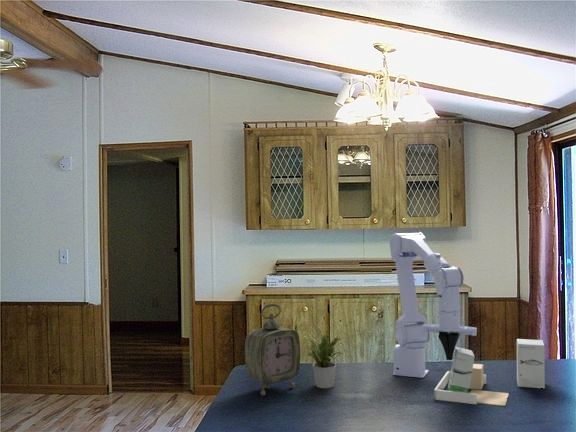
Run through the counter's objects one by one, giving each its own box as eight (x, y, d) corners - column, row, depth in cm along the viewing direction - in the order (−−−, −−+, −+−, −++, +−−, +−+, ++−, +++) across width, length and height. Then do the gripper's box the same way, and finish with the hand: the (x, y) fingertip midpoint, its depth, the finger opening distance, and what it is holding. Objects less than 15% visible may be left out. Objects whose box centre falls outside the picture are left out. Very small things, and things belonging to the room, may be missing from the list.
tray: (434, 399, 165) (433, 389, 165) (447, 379, 183) (447, 370, 183) (476, 404, 160) (476, 394, 160) (486, 383, 179) (485, 374, 179)
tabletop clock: (261, 399, 168) (259, 308, 168) (242, 391, 175) (240, 305, 175) (301, 388, 177) (299, 302, 177) (281, 381, 184) (280, 299, 184)
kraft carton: (463, 388, 175) (462, 367, 175) (465, 383, 180) (465, 363, 179) (481, 389, 173) (481, 368, 173) (483, 385, 177) (483, 364, 177)
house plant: (360, 390, 174) (359, 333, 174) (316, 396, 169) (315, 338, 169) (338, 377, 188) (337, 324, 187) (297, 383, 183) (296, 328, 182)
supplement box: (517, 387, 174) (517, 343, 174) (516, 380, 181) (516, 338, 181) (545, 389, 172) (544, 345, 172) (543, 382, 179) (542, 339, 179)
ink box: (468, 399, 164) (475, 355, 164) (449, 395, 165) (456, 352, 165) (465, 390, 173) (472, 349, 172) (447, 386, 174) (454, 345, 173)
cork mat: (465, 401, 163) (465, 401, 163) (471, 390, 173) (471, 389, 173) (505, 406, 158) (505, 405, 158) (508, 394, 168) (508, 393, 168)
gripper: (419, 311, 169) (420, 360, 169) (473, 314, 163) (474, 365, 163) (425, 307, 175) (425, 354, 175) (477, 310, 169) (478, 359, 169)
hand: (449, 359), depth 169 cm, fingers closed
